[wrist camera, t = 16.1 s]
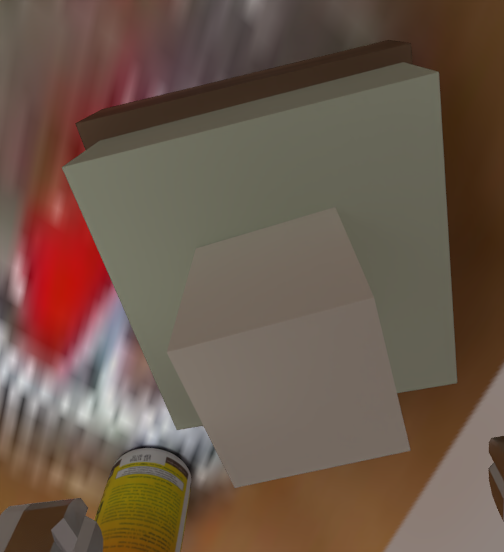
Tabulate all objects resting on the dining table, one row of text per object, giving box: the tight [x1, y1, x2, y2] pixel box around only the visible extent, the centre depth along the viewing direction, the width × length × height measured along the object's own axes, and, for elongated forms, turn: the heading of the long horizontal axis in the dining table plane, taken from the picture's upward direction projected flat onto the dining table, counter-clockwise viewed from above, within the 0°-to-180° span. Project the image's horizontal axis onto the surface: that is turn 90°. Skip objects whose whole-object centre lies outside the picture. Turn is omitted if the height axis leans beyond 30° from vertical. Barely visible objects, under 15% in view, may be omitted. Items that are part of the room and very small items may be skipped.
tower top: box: [62, 62, 457, 430], centre depth 19 cm, size 12×12×4 cm
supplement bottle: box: [94, 448, 191, 552], centre depth 29 cm, size 6×6×10 cm
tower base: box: [76, 40, 412, 150], centre depth 23 cm, size 13×13×4 cm
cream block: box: [167, 207, 411, 488], centre depth 15 cm, size 5×5×6 cm
